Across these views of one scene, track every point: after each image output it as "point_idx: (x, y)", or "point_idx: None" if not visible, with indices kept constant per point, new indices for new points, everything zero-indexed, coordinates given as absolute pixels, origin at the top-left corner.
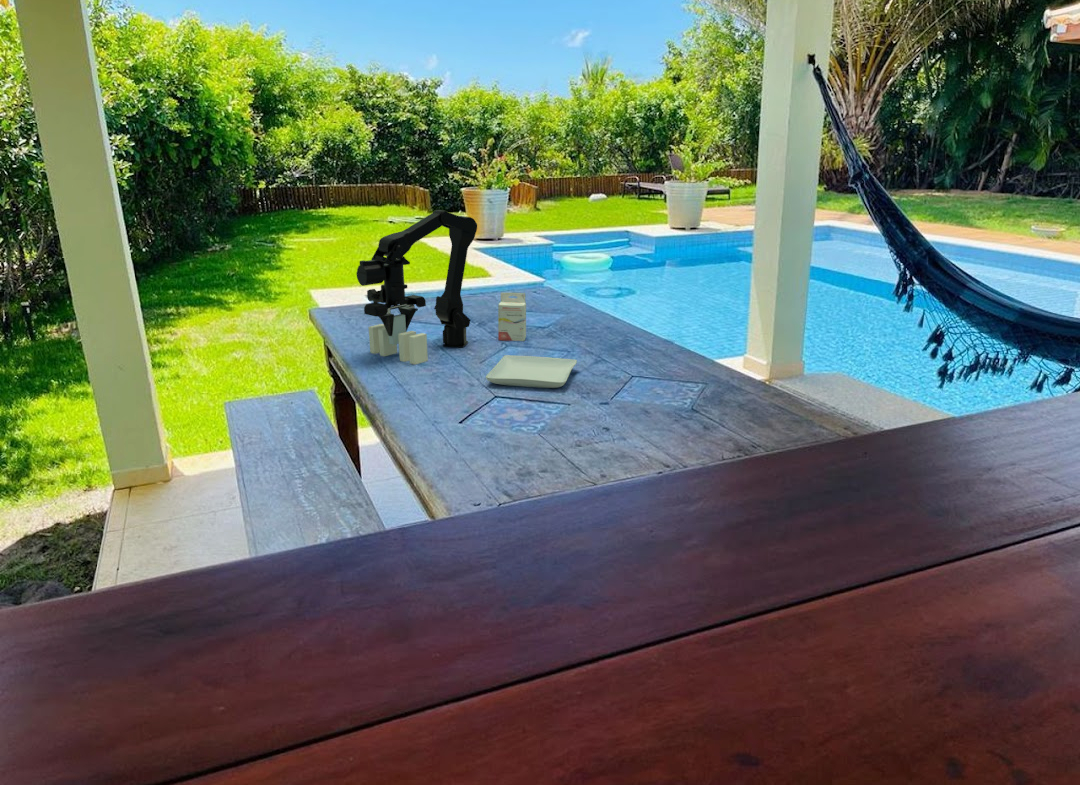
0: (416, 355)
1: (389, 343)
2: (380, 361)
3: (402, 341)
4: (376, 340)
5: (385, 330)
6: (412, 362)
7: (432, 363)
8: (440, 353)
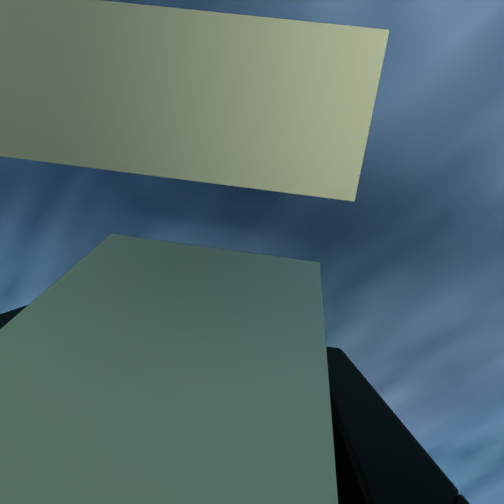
0: None
1: (110, 240)
2: (44, 193)
3: None
4: None
5: (76, 161)
6: None
7: None
8: (486, 425)
